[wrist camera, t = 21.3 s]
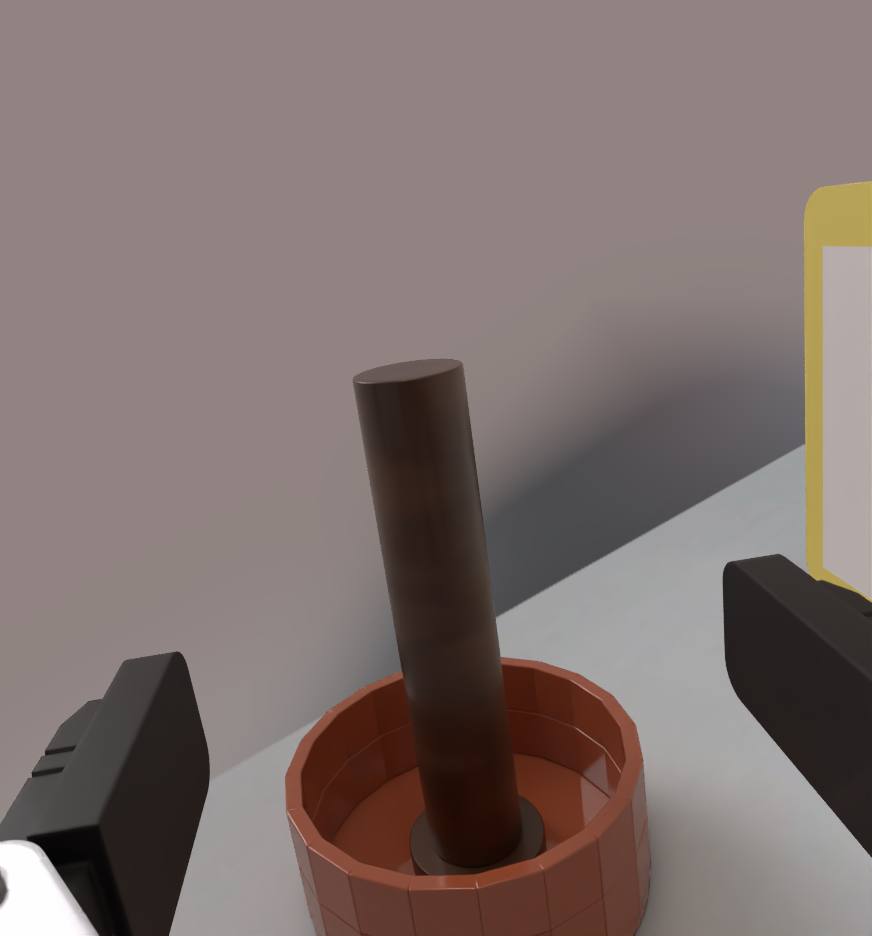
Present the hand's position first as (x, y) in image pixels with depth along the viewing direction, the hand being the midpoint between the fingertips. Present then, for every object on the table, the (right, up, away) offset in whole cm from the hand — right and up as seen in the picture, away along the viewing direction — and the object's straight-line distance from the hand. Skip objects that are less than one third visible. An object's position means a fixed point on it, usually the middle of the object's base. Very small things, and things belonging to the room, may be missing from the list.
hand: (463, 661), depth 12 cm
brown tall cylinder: (+1, -10, +14) cm, 17 cm away
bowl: (+1, -10, +14) cm, 18 cm away
